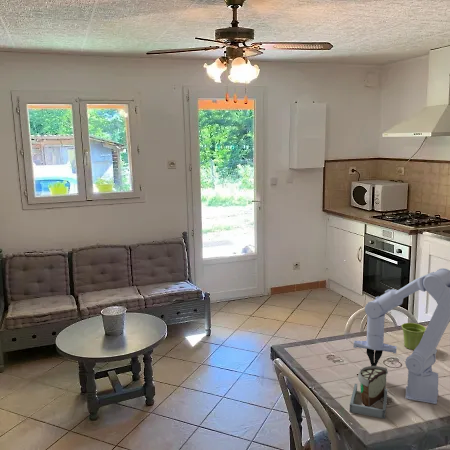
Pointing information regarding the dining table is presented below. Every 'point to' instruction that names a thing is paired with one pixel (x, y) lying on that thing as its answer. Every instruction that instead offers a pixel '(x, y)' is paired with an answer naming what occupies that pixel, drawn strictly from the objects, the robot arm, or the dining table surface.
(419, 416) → the dining table surface
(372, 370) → the food container
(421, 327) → the plant pot
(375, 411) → the bay
